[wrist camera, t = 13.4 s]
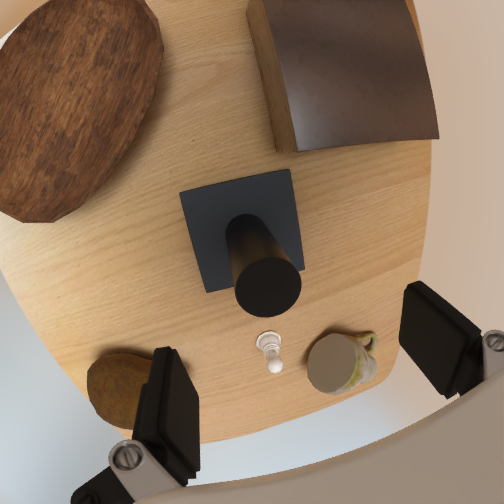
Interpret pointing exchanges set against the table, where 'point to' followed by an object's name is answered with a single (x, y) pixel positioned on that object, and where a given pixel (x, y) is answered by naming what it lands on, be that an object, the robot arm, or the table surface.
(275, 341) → the chess pawn
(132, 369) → the potato
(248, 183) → the mat
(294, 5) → the cabinet
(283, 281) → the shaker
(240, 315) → the table surface
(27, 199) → the bowl
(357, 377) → the mug
